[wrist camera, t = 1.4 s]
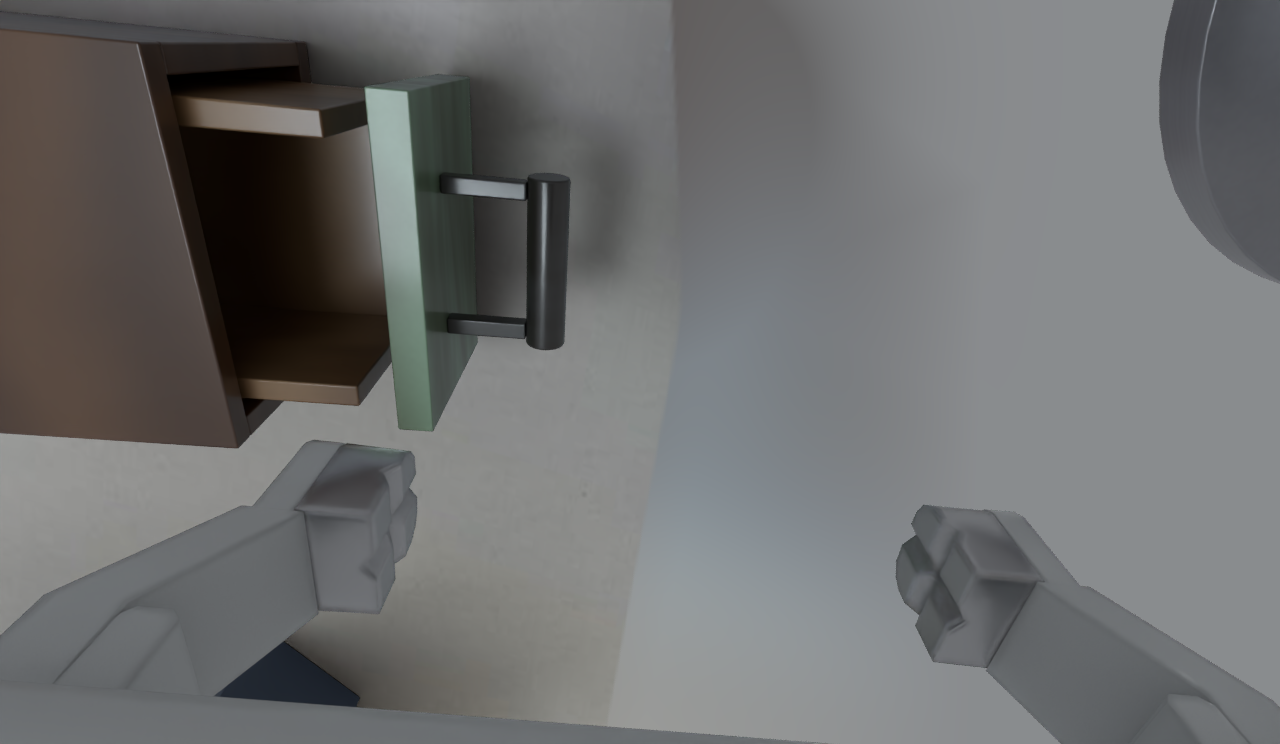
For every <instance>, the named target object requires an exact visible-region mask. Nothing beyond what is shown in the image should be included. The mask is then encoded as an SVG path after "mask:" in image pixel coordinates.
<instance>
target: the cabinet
mask: <svg viewBox="0 0 1280 744" xmlns="http://www.w3.org/2000/svg"><path fill="white" fill-rule="evenodd" d="M193 73H211V74H222V75H232V76H243V77H253V78H263V79H274V80H284V81H294V82H305V83H312V82H311V75H310V68H309V60H308V53H307V46H306V42H304V41H294V40H284V39H274V38H264V37H254V36H244V35H234V34H224V33H214V32H204V31H194V30H184V29H174V28H164V27H154V26H144V25H134V24H124V23H114V22H104V21H94V20H84V19H74V18H64V17H54V16H44V15H34V14H24V13H14V12H4V11H0V433H7V434H22V435H38V436H53V437H69V438H84V439H100V440H115V441H131V442H146V443H162V444H177V445H193V446H208V447H224V448H239V447H240V446H241V445H242V444H243V443H244V442H245V441H246V440H247V439H248V438H249V436H250V435H252V434H253V432H254V431H255V430H256V429H257V428H258V427H259V426H260V425H261V424H262V423H263V422H264V421H265V420H266V419H267V418H268V417H269V416H270V415H271V414H272V413H273V412H274V411H275V410H276V409H277V408H278V406H279V405H280V404H281V403H282V402H283V401H282V400H267V399H253V398H241V394H240V390H239V385H238V381H237V377H236V372H235V368H234V364H233V359H232V355H231V351H230V347H229V342H228V338H227V334H226V329H225V325H224V321H223V316H222V312H221V308H220V303H219V299H218V295H217V290H216V286H215V282H214V277H213V273H212V269H211V265H210V260H209V256H208V252H207V247H206V243H205V239H204V234H203V230H202V226H201V221H200V217H199V213H198V208H197V204H196V200H195V195H194V191H193V187H192V183H191V178H190V174H189V170H188V165H187V161H186V157H185V152H184V148H183V144H182V139H181V135H180V131H179V126H178V122H177V118H176V113H175V109H174V105H173V101H172V96H171V92H170V88H169V83H168V79H167V75H179V74H193Z"/></svg>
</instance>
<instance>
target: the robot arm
mask: <svg viewBox="0 0 1280 744" xmlns="http://www.w3.org/2000/svg"><path fill="white" fill-rule="evenodd" d="M415 475H416V469H415V456H414V455H413V454H412V452H411V451H404V450H396V449H388V448H380V447H372V446H364V445H356V444H348V443H347V444H344V443H338V442H329V441H319V440H312V441H309V442H306V443H305V444H304V445H303V446H302V448H301V449H300V450H299V451H298V452H297V454H296V455H295V456H294V457H293V458H292V460H291V461H290V462H289V463H288V464H287V466H286V467H285V468H284V469H283V470H282V472H281V473H280V474H279V475H278V476H277V478H276V479H275V480H274V481H273V482H272V484H271V485H270V486H269V487H268V488H267V490H266V491H265V492H264V493H263V494H262V496H261V497H260V498H259V499H258V500H257V502H256V503H255V504H254V505H253V506H240V507H237V508H235V509H233V510H231V511H229V512H226V513H224V514H222V515H220V516H217V517H215V518H213V519H211V520H209V521H206V522H204V523H202V524H200V525H198V526H195V527H193V528H191V529H189V530H186V531H184V532H182V533H180V534H178V535H175V536H173V537H171V538H169V539H167V540H164V541H162V542H160V543H158V544H155V545H153V546H151V547H149V548H147V549H144V550H142V551H140V552H138V553H136V554H133V555H131V556H129V557H127V558H124V559H122V560H120V561H118V562H116V563H113V564H111V565H109V566H107V567H104V568H102V569H100V570H98V571H96V572H93V573H91V574H89V575H87V576H85V577H82V578H80V579H78V580H76V581H73V582H71V583H69V584H67V585H65V586H62V587H60V588H58V589H56V590H54V591H51V592H49V593H47V594H45V595H43V596H42V597H41V598H40V599H39V600H38V601H37V602H36V603H35V604H34V605H33V606H32V607H31V608H29V609H28V610H27V611H26V612H25V613H24V614H23V615H22V616H21V617H20V618H19V619H18V620H17V621H15V622H14V623H13V624H12V625H11V626H10V627H9V628H8V629H7V630H6V631H5V632H4V633H3V634H2V635H0V744H828V743H814V742H801V741H788V740H776V739H775V740H774V739H762V738H750V737H749V738H748V737H737V736H723V735H710V734H697V733H683V732H671V731H658V730H644V729H632V728H618V727H606V726H593V725H580V724H567V723H554V722H541V721H528V720H515V719H502V718H489V717H476V716H463V715H450V714H437V713H424V712H411V711H398V710H385V709H372V708H359V707H346V706H333V705H320V704H307V703H294V702H281V701H268V700H255V699H242V698H229V697H215V696H214V695H216V694H217V693H218V692H219V691H221V690H222V689H223V688H225V687H226V686H227V685H228V684H230V683H231V682H232V681H233V680H235V679H236V678H237V677H239V676H240V675H241V674H242V673H244V672H245V671H246V670H247V669H249V668H250V667H251V666H253V665H254V664H255V663H256V662H258V661H259V660H260V659H261V658H263V657H264V656H265V655H267V654H268V653H269V652H270V651H272V650H273V649H274V648H275V647H277V646H278V645H279V644H281V643H282V642H283V641H284V640H286V639H287V638H288V637H289V636H291V635H292V634H293V633H295V632H296V631H297V630H298V629H300V628H301V627H302V626H303V625H305V624H306V623H307V622H309V621H310V620H311V619H312V618H314V617H315V616H316V615H317V614H318V610H320V611H337V612H354V613H371V614H380V611H381V609H382V607H383V605H384V603H385V600H386V598H387V596H388V594H389V592H390V589H391V587H392V585H393V583H394V581H395V563H396V562H398V561H399V560H401V559H402V558H404V557H405V556H406V554H407V551H408V549H409V547H410V544H411V542H412V538H413V534H414V530H415V526H416V517H417V496H416V495H415V494H414V493H413V492H412V490H411V489H410V488H409V487H410V485H411V483H412V481H413V479H414V477H415ZM911 524H912V527H913V529H914V532H915V534H916V535H915V536H914V537H912V538H911V539H910V540H908V541H907V542H905V543H904V544H903V545H902V547H901V550H900V552H899V555H898V558H897V560H896V580H897V585H898V589H899V592H900V594H901V596H902V599H903V601H904V603H905V604H907V605H908V606H909V607H910V608H911V609H913V610H914V611H915V612H916V613H917V614H919V617H918V620H917V623H916V625H915V626H916V628H917V630H918V632H919V634H920V636H921V638H922V640H923V643H924V645H925V647H926V649H927V651H928V653H929V655H930V657H931V659H932V661H933V662H939V663H947V664H956V665H965V666H973V667H982V668H987V670H986V671H987V672H988V673H989V674H990V675H991V676H992V677H993V678H994V679H995V680H996V681H997V682H998V683H999V684H1000V685H1001V686H1002V687H1003V688H1004V689H1005V690H1007V691H1008V692H1009V693H1010V694H1011V695H1012V696H1013V697H1014V698H1015V699H1016V700H1017V701H1018V702H1019V703H1020V704H1021V705H1022V706H1023V707H1024V708H1025V709H1026V710H1027V711H1028V712H1029V713H1030V714H1031V715H1032V716H1033V717H1034V718H1035V719H1036V720H1037V721H1038V722H1039V723H1041V725H1042V726H1043V727H1045V729H1046V730H1048V731H1049V732H1050V733H1051V734H1052V735H1053V736H1054V737H1055V738H1056V739H1057V740H1058V741H1059V742H1060V743H1061V744H1280V707H1279V706H1278V705H1277V704H1276V703H1275V702H1274V701H1273V700H1271V699H1270V698H1268V697H1266V696H1265V695H1263V694H1262V693H1260V692H1258V691H1257V690H1255V689H1254V688H1252V687H1250V686H1249V685H1247V684H1245V683H1244V682H1242V681H1241V680H1239V679H1237V678H1236V677H1234V676H1232V675H1231V674H1229V673H1228V672H1226V671H1225V670H1223V669H1221V668H1220V667H1218V666H1216V665H1215V664H1213V663H1212V662H1210V661H1208V660H1207V659H1205V658H1203V657H1202V656H1200V655H1199V654H1197V653H1195V652H1194V651H1192V650H1191V649H1189V648H1187V647H1186V646H1184V645H1183V644H1181V643H1179V642H1178V641H1176V640H1174V639H1173V638H1171V637H1170V636H1168V635H1167V634H1165V633H1163V632H1162V631H1160V630H1158V629H1157V628H1155V627H1153V626H1152V625H1150V624H1149V623H1147V622H1146V621H1144V620H1142V619H1141V618H1139V617H1138V616H1136V615H1134V614H1133V613H1131V612H1129V611H1128V610H1126V609H1125V608H1123V607H1121V606H1120V605H1118V604H1117V603H1115V602H1113V601H1112V600H1110V599H1109V598H1107V597H1105V596H1104V595H1102V594H1100V593H1099V592H1097V591H1095V590H1094V589H1092V588H1091V587H1085V586H1080V585H1079V584H1078V583H1077V581H1076V580H1075V579H1074V578H1073V576H1072V575H1071V574H1070V573H1069V572H1068V570H1067V569H1066V568H1065V567H1064V565H1063V564H1062V563H1061V562H1060V561H1059V560H1058V558H1057V557H1056V556H1055V554H1054V553H1053V552H1052V551H1051V550H1050V549H1049V547H1048V546H1047V545H1046V544H1045V542H1044V541H1043V540H1042V539H1041V538H1040V536H1039V535H1038V534H1037V533H1036V531H1035V530H1034V529H1033V528H1032V526H1031V525H1030V524H1029V523H1028V522H1027V520H1026V519H1025V518H1024V517H1023V516H1021V515H1019V514H1017V513H1015V512H1010V511H997V510H973V509H962V508H951V507H942V506H931V505H923V506H922V507H921V508H920V509H919V510H918V511H917V512H916V514H915V517H914V519H913V521H912V523H911Z"/></svg>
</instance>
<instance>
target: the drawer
mask: <svg viewBox="0 0 1280 744" xmlns="http://www.w3.org/2000/svg"><path fill="white" fill-rule="evenodd" d="M167 79H168V83H169V88H170V92H171V96H172V101H173V105H174V109H175V113H176V118H177V122H178V126H179V131H180V135H181V139H182V144H183V148H184V152H185V157H186V161H187V165H188V170H189V174H190V178H191V183H192V187H193V191H194V195H195V200H196V204H197V208H198V213H199V217H200V221H201V226H202V230H203V234H204V239H205V243H206V247H207V252H208V256H209V260H210V265H211V269H212V273H213V277H214V282H215V286H216V290H217V295H218V299H219V303H220V308H221V312H222V316H223V321H224V325H225V329H226V334H227V338H228V342H229V347H230V351H231V355H232V359H233V364H234V368H235V372H236V377H237V381H238V385H239V390H240V394H241V398H253V399H267V400H282V401H296V402H311V403H325V404H340V405H354V406H359V405H360V404H361V403H362V401H363V400H364V399H365V397H366V396H367V395H368V393H369V392H370V391H371V389H372V388H373V387H374V385H375V384H376V383H377V381H378V380H379V379H380V377H381V376H382V374H383V373H384V372H385V370H386V369H387V368H388V366H389V365H390V364H391V362H392V368H393V378H394V388H395V398H396V407H397V417H398V427H399V429H404V430H419V431H433V430H434V428H435V426H436V424H437V422H438V420H439V418H440V416H441V414H442V412H443V410H444V408H445V406H446V404H447V403H448V401H449V399H450V397H451V395H452V393H453V391H454V389H455V387H456V385H457V383H458V381H459V379H460V377H461V375H462V373H463V371H464V369H465V367H466V365H467V363H468V361H469V359H470V357H471V355H472V353H473V351H474V349H475V347H476V345H477V343H478V338H477V335H478V336H491V337H504V338H517V339H525V337H526V342H527V344H528V345H529V346H530V347H532V348H535V349H539V350H553V349H557V348H560V347H561V346H562V345H563V344H564V337H565V312H566V286H567V261H568V235H569V210H570V184H571V180H570V178H569V177H567V176H564V175H560V174H554V173H534V174H530V175H529V176H528V179H527V180H526V179H515V178H504V177H493V176H482V175H472V143H471V111H470V79H469V77H463V76H453V75H443V74H435V75H429V76H423V77H417V78H411V79H405V80H399V81H394V82H388V83H382V84H376V85H370V86H365V87H364V88H357V87H346V86H336V85H326V84H315V83H305V82H294V81H284V80H274V79H263V78H253V77H243V76H232V75H222V74H211V73H193V74H179V75H167ZM473 196H475V197H486V198H497V199H509V200H520V201H526V199H527V299H526V319H525V318H512V317H499V316H486V315H477V306H476V273H475V241H474V208H473Z"/></svg>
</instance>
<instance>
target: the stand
mask: <svg viewBox="0 0 1280 744" xmlns="http://www.w3.org/2000/svg"><path fill="white" fill-rule="evenodd" d="M214 696H215V697H229V698H242V699H255V700H268V701H281V702H294V703H307V704H320V705H333V706H346V707H356V706H357V703H358V701H359V699H360V698H359V697H358V696H357V695H355V694H354V693H353V692H351V691H350V690H349V689H347V688H346V687H345V686H343V685H342V684H340V683H339V682H338V681H336V680H335V679H334V678H332V677H331V676H330V675H328V674H327V673H325V672H324V671H323V670H321V669H320V668H319V667H317V666H316V665H315V664H313V663H312V662H310V661H309V660H308V659H306V658H305V657H304V656H302V655H301V654H300V653H298V652H297V651H295V650H294V649H293V648H291V647H290V646H289V645H287V644H286V643H285V642H282V643H281V644H279V645H278V646H277V647H275V648H274V649H273V650H272V651H270V652H269V653H268V654H267V655H265V656H264V657H263V658H261V659H260V660H259V661H258V662H256V663H255V664H254V665H253V666H251V667H250V668H249V669H247V670H246V671H245V672H244V673H242V674H241V675H240V676H239V677H237V678H236V679H235V680H233V681H232V682H231V683H230V684H228V685H227V686H226V687H225V688H223V689H222V690H221V691H219V692H218V693H217V694H216V695H214Z"/></svg>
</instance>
